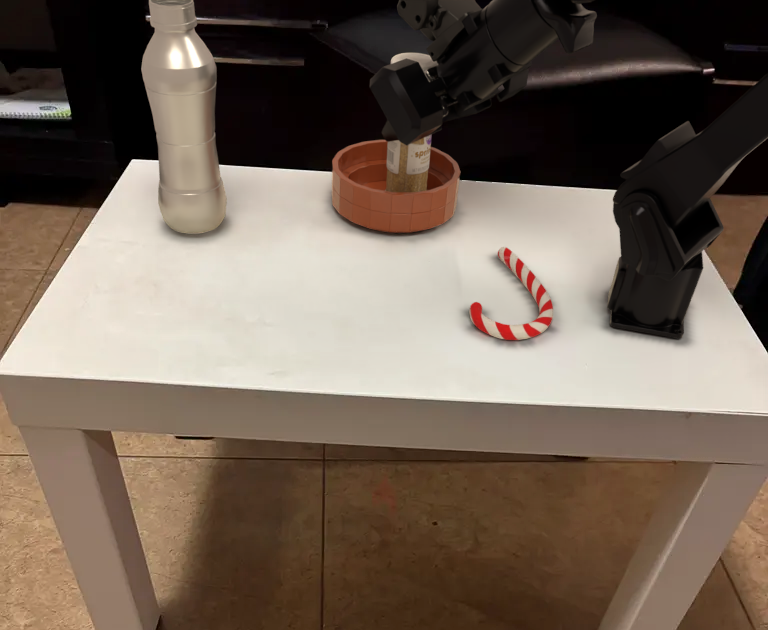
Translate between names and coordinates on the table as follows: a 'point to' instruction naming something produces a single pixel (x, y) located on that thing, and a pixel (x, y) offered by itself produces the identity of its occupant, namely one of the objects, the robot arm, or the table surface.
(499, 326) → the candy cane
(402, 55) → the sprinkles bottle
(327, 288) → the table surface
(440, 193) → the bowl
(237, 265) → the table surface
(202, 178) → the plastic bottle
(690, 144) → the robot arm
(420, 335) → the table surface
